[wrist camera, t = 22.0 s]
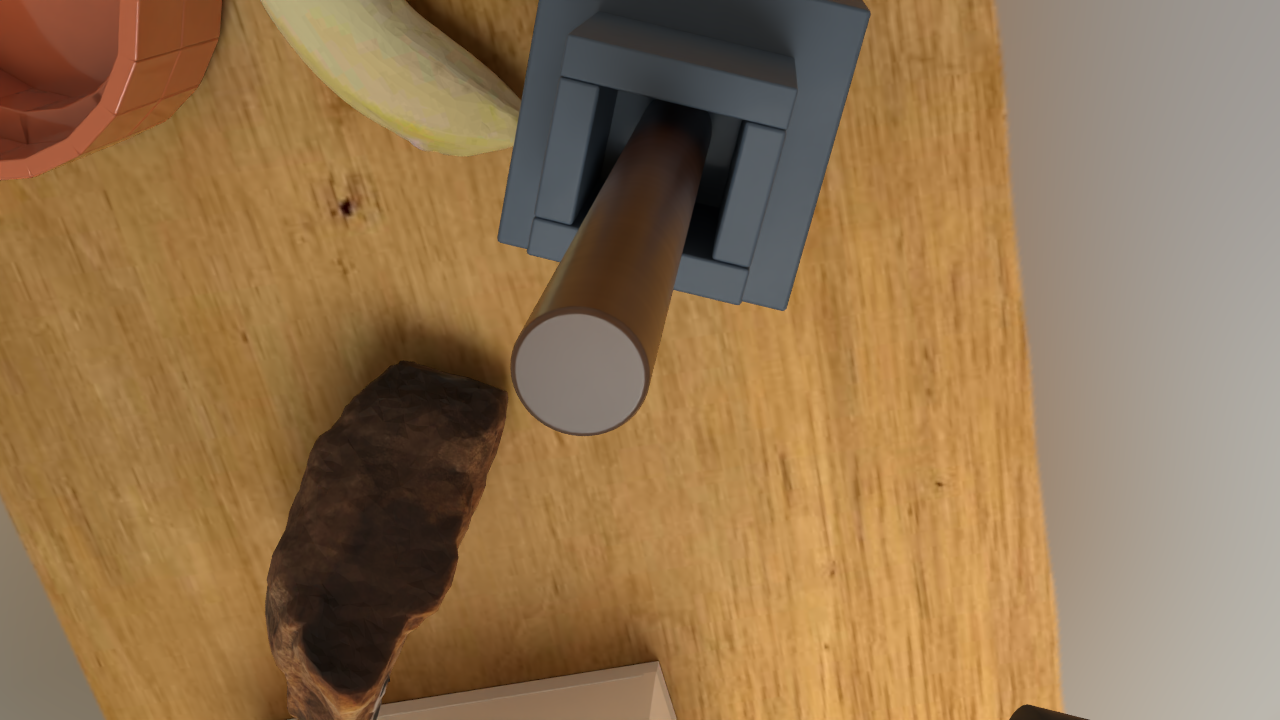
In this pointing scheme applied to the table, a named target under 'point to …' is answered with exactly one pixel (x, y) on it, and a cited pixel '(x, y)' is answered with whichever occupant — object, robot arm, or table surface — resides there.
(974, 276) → the table surface
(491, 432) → the decorative rock
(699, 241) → the holder
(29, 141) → the bowl
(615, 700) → the white lidded box
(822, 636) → the table surface
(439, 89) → the fruit
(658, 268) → the stick
